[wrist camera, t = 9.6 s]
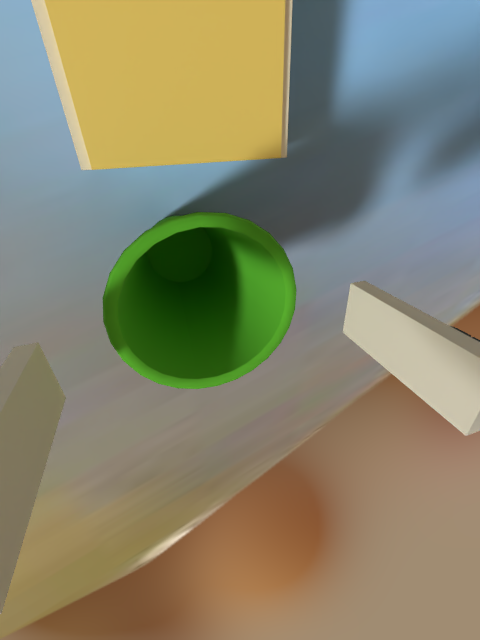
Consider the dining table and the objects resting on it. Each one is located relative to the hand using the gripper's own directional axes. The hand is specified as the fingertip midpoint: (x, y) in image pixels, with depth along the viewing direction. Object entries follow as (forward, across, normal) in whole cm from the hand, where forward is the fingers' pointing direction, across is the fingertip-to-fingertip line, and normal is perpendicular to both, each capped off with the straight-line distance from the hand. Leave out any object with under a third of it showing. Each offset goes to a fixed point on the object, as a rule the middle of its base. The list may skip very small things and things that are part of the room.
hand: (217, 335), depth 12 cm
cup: (+12, 0, 0) cm, 13 cm away
